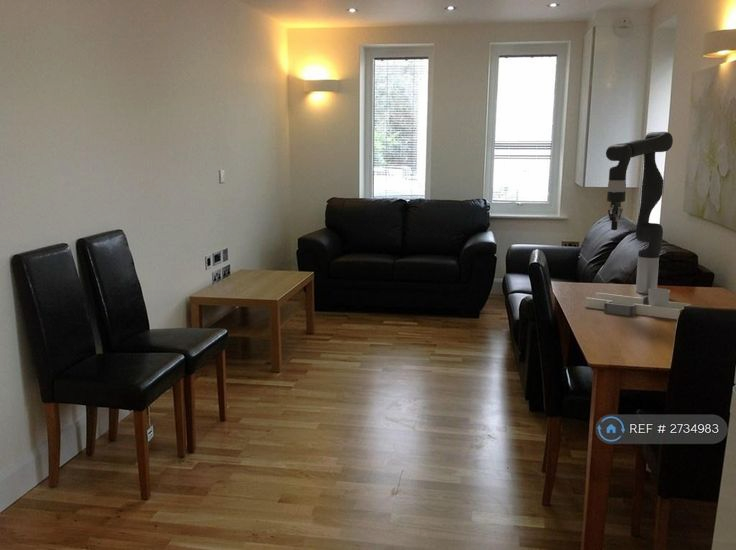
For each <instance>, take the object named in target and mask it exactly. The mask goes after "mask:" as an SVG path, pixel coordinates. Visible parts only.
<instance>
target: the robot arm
mask: <svg viewBox="0 0 736 550" xmlns="http://www.w3.org/2000/svg"><path fill="white" fill-rule="evenodd" d="M673 139H674V138H673V135H672V134H671V133H670V132H667V131H651V132H648V133H646V135H645V137H644V139H642V138H641V139H635V140H631V141H628V142H624V143H615V144H612V145H610V146H608V147H607V149H606V151H605V157H606V158H607V159H608V161H611V162H618V164H617V165H616V166H615V165H614V166H612V167H610V168H609V171H608V172H609V173H608V182H607V193H606V194H607V195H606V201H607V202H609V203H610V205H609V209H607V210H608V211H607V213H608V217H609V221H610V222H611V227H610V230H611V231H617V230H618V224H619V220H620V219H621V216H622V213H623V207H622V205H621V204H622V203H625V202H626V194H627V193H626V192H627V191H626V190H627V183H626V182H627V170H628V168H629V165H630V162H631V158H634V157H635V158H636V157H638V156H642V155H643V170H642V171H643V173H642V182H641V191H640V203H639V204H640V205H639V211H638V212H639V213H638V215H637V216H638V218H637V222H636V227H635V237H636V240H637V241H638V242H640V243H642V242H643V243H648V246H647V247H646V248H643V249H639V250H638V253H637V255H638V256H637V266H636V282H635V283H636V284H635V292H636V293H638V294H644V295H645V294H646V295H648V291H649V289H650V288H658V280H659V279H658V277H659V266H660V265H659V261H660V254H661V250H662V242H663V234H664V228H663V226H662V224H660V223H654V222H649V221H650V217H651V213H652V211H653V210H654V209H655V207H656V205H657V204H658V203H659V201H660V200H661V198H662V196H663V190H664V178H663V175H662V173H661V172H660V170H659V168H658V166H657V163H656V153H665V152H667V151H669V150H670V149H671V148H672V146H673V143H674V140H673Z"/></svg>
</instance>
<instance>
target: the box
mask: <svg viewBox="0 0 736 550" xmlns="http://www.w3.org/2000/svg"><path fill="white" fill-rule="evenodd" d="M684 306H691V307H692V303H687V302H686V303H685V302H678V301H670V298H669V301H668V305H667V308H666V307H658V306H650V305H649V300H648V295H643V296H642V297H638V296H637V297H635V296H629V295H620V294H611V293H605V292H596V294H595V297H594V298H593V297H585V305H584V307H585V308H591V309H599V310H603V313H606V314H612V315H619V314H620V315H621V316H628V317H634V316H635V315H643V316H648V317H649V316H650V317H656V318H657V317H658V318H663V319H672V320H678V319H677V318H678V315H679V312H680V310H681V308H682V307H684Z"/></svg>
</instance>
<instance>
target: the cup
mask: <svg viewBox="0 0 736 550" xmlns="http://www.w3.org/2000/svg"><path fill="white" fill-rule="evenodd" d="M670 294H671V290H670V289H667V288H660V287H657V288H650V289H649V291H648V294H647V296H648V300H649V305H650V306H658V307H666V308H667V305H668V301H669V299H670Z"/></svg>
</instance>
